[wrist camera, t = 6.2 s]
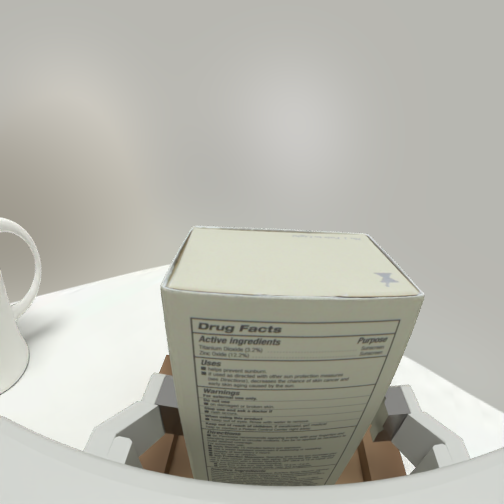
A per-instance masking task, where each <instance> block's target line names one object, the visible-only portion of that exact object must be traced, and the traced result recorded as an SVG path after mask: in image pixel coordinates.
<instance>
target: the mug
mask: <svg viewBox="0 0 504 504" xmlns="http://www.w3.org/2000/svg"><path fill="white" fill-rule="evenodd" d="M0 232H10V233H13V234H16V235H18V236H20V237H21V238H22V239H23V240H24V241H25V242H26V243H27V244H28V245H29V247H30V249H31V251H32V253H33V256H34V260H35V276H34V280H33V283H32V286H31V288H30V290H29V291H28V293H27V294H26V296H25V297H24V298H23V299H22V300H21V301H19V302H18V303H16V304H13V305H10V302H9V299H8V295H7V292H6V289H5V285H4V281H3V278H2V273H1V269H0V394H1V393H2V392H4V391H6V390H7V389H9V388H10V387H11V386H12V385H13V384H15V383H16V382H17V380H18V379H19V378H20V377H21V376H22V374H23V372H24V371H25V369H26V366H27V364H28V360H29V349H28V346H27V343H26V341H25V340H24V338H23V337H22V335H21V333H20V331H19V329H18V326H17V323H16V320H17V319H18V318H19V317H20V316H21V315H23V314H24V313H25V312H26V311H27V309H28V308H29V307H30V306H31V304H32V303H33V301H34V299H35V297H36V295H37V292H38V289H39V286H40V280H41V260H40V256H39V252H38V249H37V247H36V245H35V243H34V241H33V239H32V238H31V236H30V235H29V234H28V233H27V231H26V230H24V229H23V228H22V227H21V226H20V225H18V224H17V223H15V222H13V221H11V220H8V219H5V218H0Z"/></svg>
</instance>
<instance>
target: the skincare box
mask: <svg viewBox="0 0 504 504" xmlns="http://www.w3.org/2000/svg"><path fill="white" fill-rule="evenodd" d="M424 296H425V294H424V293H423V292H422V291H421V290H420V289H419V288H418V287H417V286H416V285H415V283H414V282H413V281H412V280H411V279H410V278H409V276H408V275H407V274H406V273H405V272H404V271H403V270H402V269H401V268H400V266H399V265H398V264H397V263H396V262H395V261H394V260H393V259H392V258H391V257H390V256H389V255H388V253H387V252H386V251H385V250H384V249H383V248H382V247H380V245H379V244H378V243H377V242H376V241H375V240H374V239H373V238H372V237H371V236H370V235H368V234H365V233H344V232H328V231H307V230H285V229H264V228H263V229H261V228H235V227H233V228H232V227H216V226H194V227H192V228H191V230H190V232H189V233H188V235H187V237H186V238H185V240H184V242H183V243H182V245H181V247H180V248H179V250H178V252H177V254H176V256H175V257H174V259H173V261H172V263H171V265H170V267H169V269H168V271H167V273H166V275H165V277H164V279H163V281H162V283H161V297H162V304H163V311H164V320H165V328H166V334H167V342H168V349H169V356H170V362H171V369H172V375H173V381H174V387H175V393H176V399H177V404H178V410H179V415H180V419H181V424H182V429H183V434H184V439H185V443H186V448H187V452H188V456H189V460H190V465H191V469H192V474H193V478H194V479H199V480H206V481H213V482H222V483H232V484H244V485H261V486H319V485H335V483H336V482H337V480H338V478H339V477H340V475H341V474H342V472H343V470H344V469H345V467H346V466H347V464H348V463H349V461H350V459H351V458H352V456H353V454H354V453H355V451H356V449H357V448H358V446H359V444H360V442H361V440H362V439H363V437H364V435H365V433H366V431H367V429H368V428H369V426H370V424H371V422H372V420H373V418H374V416H375V415H376V413H377V411H378V409H379V407H380V405H381V403H382V401H383V399H384V397H385V394H386V392H387V390H388V388H389V386H390V384H391V381H392V379H393V377H394V374H395V372H396V370H397V368H398V365H399V363H400V360H401V358H402V356H403V353H404V351H405V348H406V346H407V343H408V341H409V339H410V336H411V333H412V331H413V328H414V325H415V323H416V320H417V317H418V314H419V312H420V309H421V305H422V303H423V300H424Z"/></svg>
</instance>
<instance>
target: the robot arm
mask: <svg viewBox="0 0 504 504" xmlns="http://www.w3.org/2000/svg"><path fill="white" fill-rule="evenodd" d="M371 425H372V426H371V428H370V433H371V437H372V441H373V442H381V441H391V442H392V443H393V444H394V445H395V446H396V447H397V448H398V449H399V450H400V451H401V453H402V454H403V455H404V456H405V457H406V458H407V459H408V460H409V461H410V462H411V463H412V464H413V465H414V466H415V467H416V468H415V469H414V470H413V471H412V472H411V473H410V475H405V476H400V477H394V478H388V479H381V480H374V481H367V482H358V483H348V484H336V485H319V486H261V485H244V484H232V483H222V482H213V481H206V480H199V479H192V478H186V477H180V476H174V475H169V474H164V473H159V472H155V471H150V470H146V469H143V467H142V465H141V462H140V460H139V458H138V457H139V456H141V455H142V454H143V453H144V452H145V451H146V450H148V449H149V448H150V447H151V446H152V445H153V444H154V443H156V442H157V441H158V440H159V439H160V438H161V437H162V436H163V435H165V433H167V434H174V435H181V436H184V434H183V429H182V424H181V419H180V415H179V410H178V404H177V399H176V393H175V387H174V381H173V376H171V375H165V374H159V373H153V375H152V376H151V378H150V381H149V383H148V386H147V388H146V390H145V393H144V395H143V398H142V400H141V402H140V401H137V402H135V403H134V404H132V405H130V406H129V407H127V408H126V409H124V410H122V411H121V412H119V413H118V414H116V415H114V416H113V417H111V418H109V419H108V420H106V421H105V422H103V423H101V424H100V425H98V426H96V427H95V428H94V429H93V431H92V433H91V435H90V437H89V440H88V442H87V444H86V446H85V448H84V450H83V451H81V450H78V449H76V448H73V447H70V446H68V445H65V444H62V443H60V442H57V441H55V440H53V439H50V438H48V437H45V436H43V435H41V434H39V433H36V432H34V431H32V430H30V429H28V428H26V427H23V426H21V425H19V424H17V423H15V422H14V421H12V420H10V419H8V418H6V417H3V416H0V504H504V447H503V448H500V449H497V450H495V451H492V452H489V453H487V454H484V455H481V456H478V457H475V458H472V459H470V456H469V454H468V451H467V449H466V447H465V445H464V442H463V440H462V438H461V437H459V436H458V435H456V434H455V433H454V432H452V431H451V430H449V429H448V428H447V427H445V426H444V425H443V424H441V423H440V422H438V421H437V420H436V419H434V418H433V417H432V416H430V415H429V414H427V413H426V412H422V410H421V408H420V406H419V403H418V401H417V399H416V397H415V394H414V392H413V390H412V388H411V386H410V385H399V386H389V388H388V390H387V392H386V394H385V397H384V399H383V401H382V403H381V405H380V407H379V409H378V411H377V413H376V415H375V416H374V418H373V420H372V422H371Z"/></svg>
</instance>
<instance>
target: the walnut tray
mask: <svg viewBox="0 0 504 504" xmlns="http://www.w3.org/2000/svg"><path fill="white" fill-rule="evenodd" d="M159 374H165V375H171V376H173V375H172V369H171V362H170V356H169V355H166V357H165V360H164V362H163V365H162V367H161V370H160V372H159ZM371 426H372V425H371V424H370V426H369V428H368V429H367V431H366V433H365V435H364V437H363V439H362V440H361V442H360V444H359V446H358V448H357V449H356V451H355V453H354V454H353V456H352V458H351V459H350V461H349V463H348V464H347V466H346V467H345V469H344V470H343V472H342V474H341V475H340V477H339V478H338V480H337V482H336V483H335V485H336V484H348V483H358V482H367V481H374V480H381V479H388V478H394V477H400V476H405V475H406V472H405V468H404V465H403V461H402V458H401V454H400V451H399V449H398V448H397V447H396V446H395V445H394V444H393V443H392V442H391V441H381V442H373V441H372V437H371V433H370V428H371ZM138 458H139V460H140V462H141V465H142V467H143V469H146V470H150V471H155V472H159V473H164V474H169V475H174V476H180V477H186V478H192V479H194V478H193V474H192V469H191V465H190V460H189V456H188V452H187V448H186V443H185V439H184V436H181V435H174V434H167V433H165V435H163V436H162V437H161V438H160V439H159V440H158V441H157V442H156V443H154V444H153V445H152V446H151V447H150V448H149V449H148V450H146V451H145V452H144V453H143V454H142V455H141V456H139V457H138Z"/></svg>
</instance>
